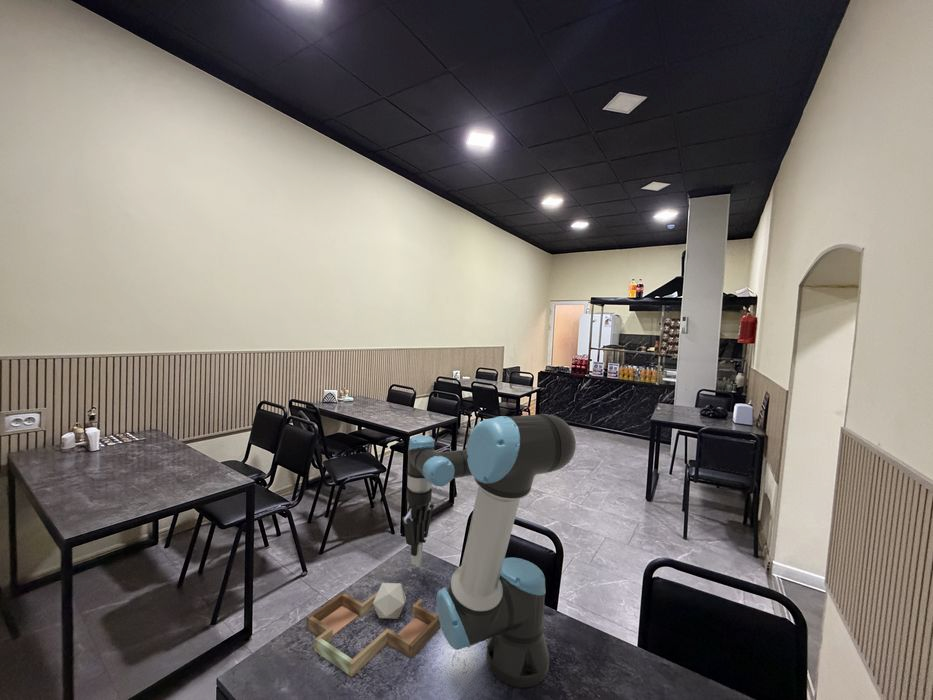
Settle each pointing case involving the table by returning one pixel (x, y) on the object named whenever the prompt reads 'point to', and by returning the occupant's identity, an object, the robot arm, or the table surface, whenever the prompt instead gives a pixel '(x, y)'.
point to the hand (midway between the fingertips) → (416, 563)
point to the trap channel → (405, 641)
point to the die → (389, 600)
